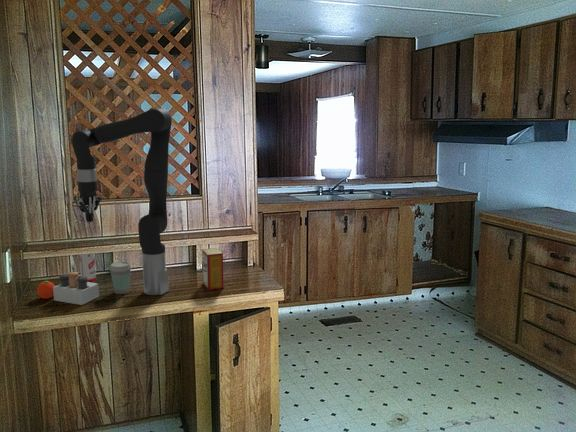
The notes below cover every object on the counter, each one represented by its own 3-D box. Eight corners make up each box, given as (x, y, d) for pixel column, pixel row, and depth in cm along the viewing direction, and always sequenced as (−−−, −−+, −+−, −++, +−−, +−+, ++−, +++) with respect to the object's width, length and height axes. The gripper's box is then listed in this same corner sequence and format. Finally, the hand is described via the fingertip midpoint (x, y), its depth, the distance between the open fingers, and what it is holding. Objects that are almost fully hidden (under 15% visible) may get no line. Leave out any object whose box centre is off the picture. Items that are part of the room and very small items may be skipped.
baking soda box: (202, 283, 230) (202, 248, 226) (217, 281, 232) (216, 247, 229) (208, 290, 221) (207, 254, 218) (223, 288, 224) (222, 252, 220)
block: (99, 296, 213) (98, 283, 212) (82, 305, 204) (81, 291, 202) (72, 292, 217) (71, 279, 216) (54, 300, 208) (52, 287, 207)
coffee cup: (132, 294, 216) (131, 266, 213) (110, 296, 213) (109, 267, 211) (132, 287, 224) (131, 260, 221) (111, 289, 221) (109, 261, 219)
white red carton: (98, 279, 233) (96, 245, 229) (92, 284, 227) (90, 248, 223) (85, 279, 233) (82, 244, 230) (78, 284, 227) (75, 248, 224)
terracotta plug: (81, 291, 210) (80, 272, 208) (75, 294, 206) (73, 275, 205) (74, 289, 211) (72, 271, 210) (67, 292, 208) (65, 274, 206)
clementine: (40, 294, 214) (38, 278, 212) (58, 293, 215) (57, 277, 214) (35, 302, 206) (34, 284, 205) (54, 300, 208) (53, 283, 206)
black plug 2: (90, 296, 209) (89, 277, 207) (84, 299, 205) (82, 280, 204) (83, 295, 210) (81, 276, 209) (76, 298, 207) (74, 279, 205)
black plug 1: (73, 293, 212) (72, 275, 210) (66, 296, 208) (65, 277, 207) (65, 292, 213) (64, 273, 211) (58, 295, 209) (57, 276, 208)
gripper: (83, 182, 205) (86, 225, 209) (105, 178, 217) (108, 219, 221) (68, 181, 207) (71, 224, 211) (90, 177, 220) (93, 217, 223)
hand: (90, 221), depth 216 cm, fingers closed
